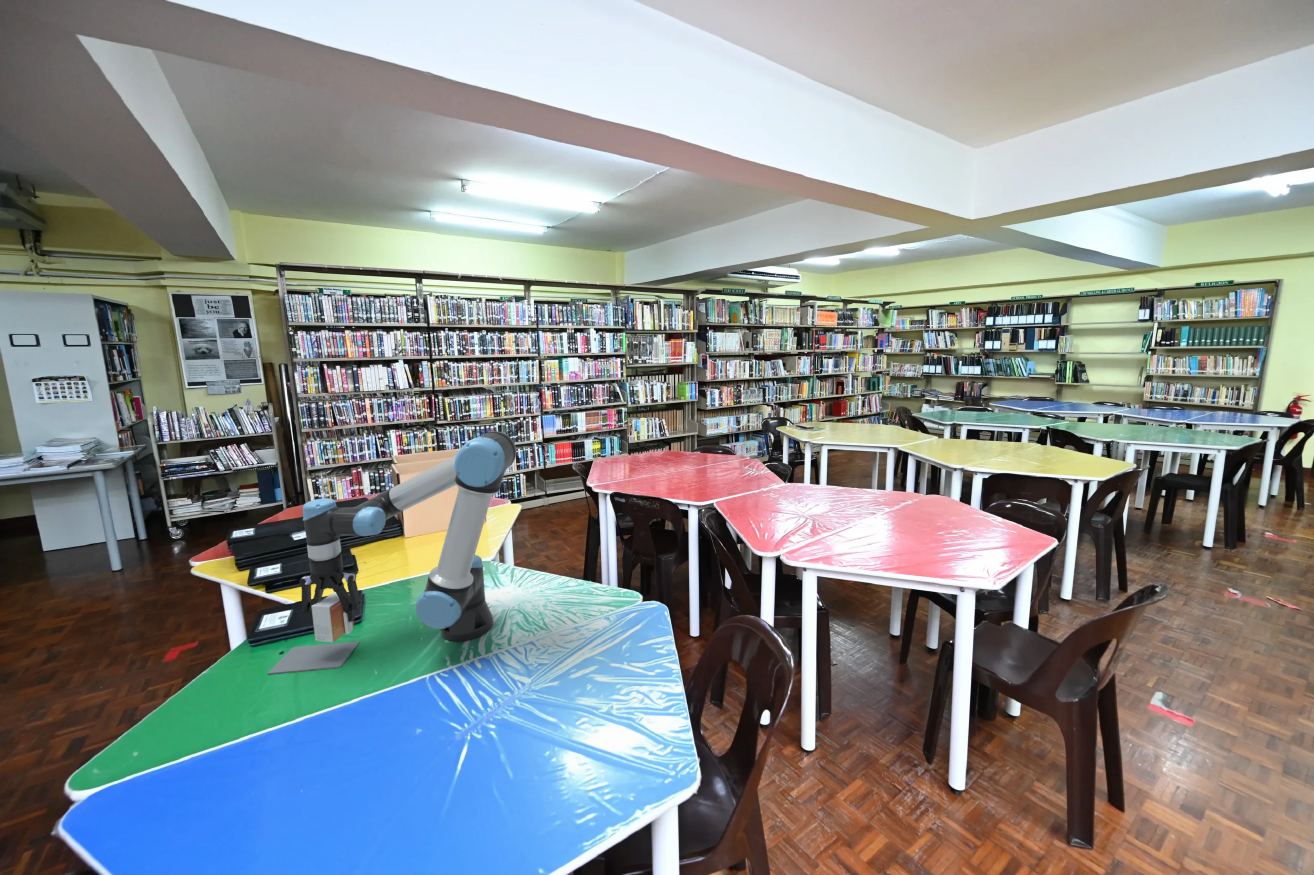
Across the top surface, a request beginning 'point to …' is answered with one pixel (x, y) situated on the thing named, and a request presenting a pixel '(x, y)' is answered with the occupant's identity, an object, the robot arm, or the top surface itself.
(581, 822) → the top surface
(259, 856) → the top surface
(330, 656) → the mat
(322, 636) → the small box
